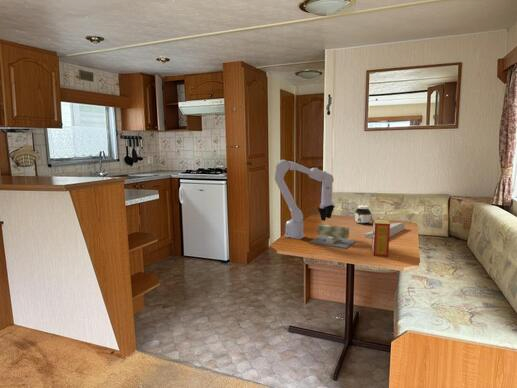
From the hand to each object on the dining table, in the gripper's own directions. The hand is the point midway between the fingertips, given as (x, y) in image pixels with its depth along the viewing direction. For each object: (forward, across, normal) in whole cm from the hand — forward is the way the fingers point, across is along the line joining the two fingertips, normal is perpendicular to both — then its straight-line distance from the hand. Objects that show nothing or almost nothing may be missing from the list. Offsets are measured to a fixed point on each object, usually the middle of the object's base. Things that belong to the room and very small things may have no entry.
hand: (326, 219), depth 204 cm
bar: (+7, -7, -7) cm, 12 cm away
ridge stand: (+10, -7, -7) cm, 14 cm away
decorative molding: (+11, +29, -26) cm, 41 cm away
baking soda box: (+11, -13, -33) cm, 37 cm away
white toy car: (+11, +48, -9) cm, 50 cm away
